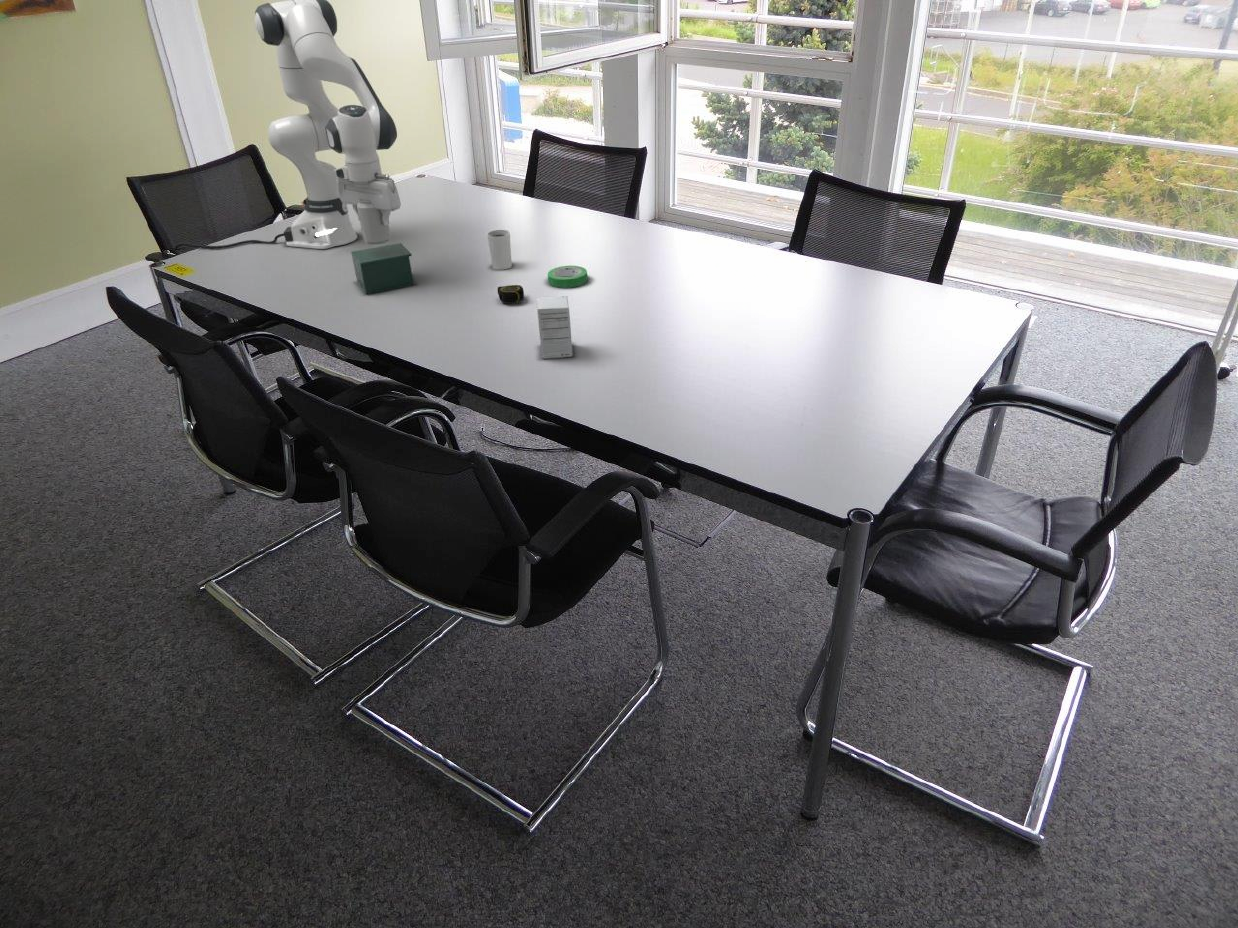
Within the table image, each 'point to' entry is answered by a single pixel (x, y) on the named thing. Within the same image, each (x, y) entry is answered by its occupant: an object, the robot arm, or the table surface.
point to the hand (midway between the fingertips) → (374, 222)
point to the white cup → (500, 249)
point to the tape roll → (560, 281)
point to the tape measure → (511, 293)
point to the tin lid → (381, 254)
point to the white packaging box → (554, 326)
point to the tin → (384, 275)
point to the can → (372, 224)
